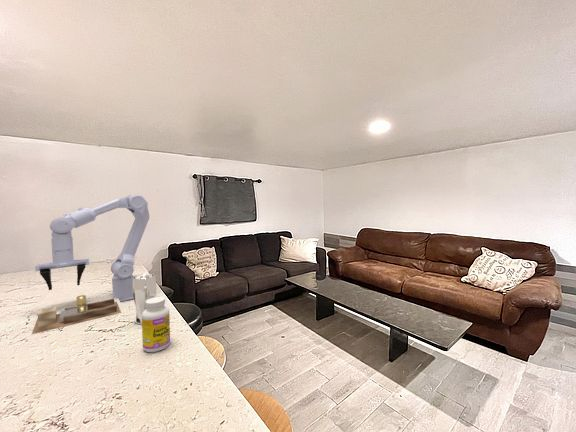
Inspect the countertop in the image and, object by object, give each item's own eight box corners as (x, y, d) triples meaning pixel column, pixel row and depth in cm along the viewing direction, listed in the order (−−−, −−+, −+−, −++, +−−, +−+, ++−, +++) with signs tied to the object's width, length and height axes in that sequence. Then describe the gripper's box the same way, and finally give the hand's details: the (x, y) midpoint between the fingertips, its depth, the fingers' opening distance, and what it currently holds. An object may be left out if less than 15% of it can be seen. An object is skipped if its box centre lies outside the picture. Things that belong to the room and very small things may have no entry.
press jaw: (87, 309, 90) (86, 292, 89) (87, 316, 84) (87, 297, 84) (61, 315, 85) (60, 297, 85) (59, 322, 80) (58, 303, 80)
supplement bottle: (151, 356, 64) (149, 306, 63) (137, 348, 67) (135, 301, 67) (175, 343, 69) (173, 298, 69) (161, 337, 73) (159, 294, 72)
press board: (116, 305, 98) (116, 296, 98) (121, 316, 87) (120, 307, 87) (37, 322, 84) (37, 312, 84) (31, 339, 73) (31, 327, 73)
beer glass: (162, 317, 86) (160, 274, 86) (145, 326, 80) (143, 280, 79) (147, 314, 89) (145, 272, 88) (128, 323, 82) (126, 278, 82)
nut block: (56, 318, 83) (56, 307, 83) (55, 323, 80) (55, 310, 80) (39, 322, 81) (39, 310, 81) (38, 327, 78) (37, 314, 78)
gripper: (33, 254, 84) (35, 294, 84) (88, 249, 93) (90, 285, 94) (35, 251, 89) (38, 289, 90) (87, 246, 98) (89, 281, 99)
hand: (64, 287), depth 92 cm, fingers open, 7 cm apart
